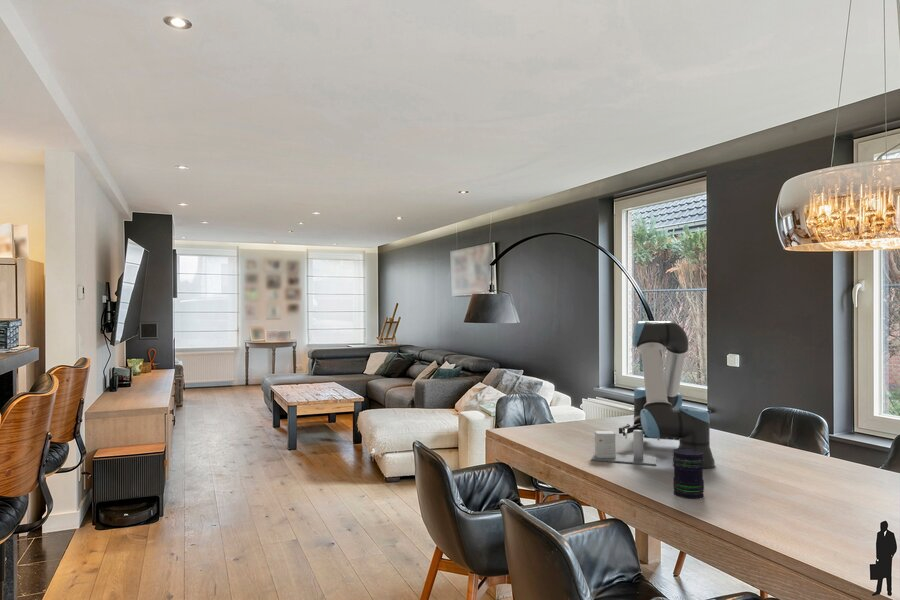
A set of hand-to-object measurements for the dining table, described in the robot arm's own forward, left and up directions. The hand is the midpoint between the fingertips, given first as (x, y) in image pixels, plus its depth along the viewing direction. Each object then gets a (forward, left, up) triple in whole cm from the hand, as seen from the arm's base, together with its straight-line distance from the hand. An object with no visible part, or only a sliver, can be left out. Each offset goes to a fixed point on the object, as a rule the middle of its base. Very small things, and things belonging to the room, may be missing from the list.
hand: (642, 436), depth 255 cm
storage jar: (-49, +26, -8) cm, 56 cm away
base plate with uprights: (-2, +13, -8) cm, 15 cm away
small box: (+3, +18, -8) cm, 20 cm away
